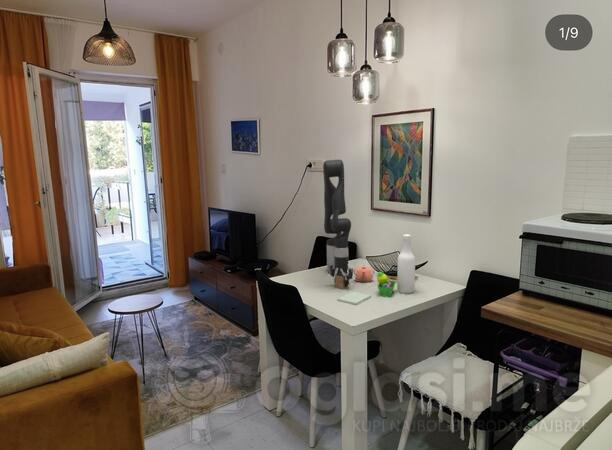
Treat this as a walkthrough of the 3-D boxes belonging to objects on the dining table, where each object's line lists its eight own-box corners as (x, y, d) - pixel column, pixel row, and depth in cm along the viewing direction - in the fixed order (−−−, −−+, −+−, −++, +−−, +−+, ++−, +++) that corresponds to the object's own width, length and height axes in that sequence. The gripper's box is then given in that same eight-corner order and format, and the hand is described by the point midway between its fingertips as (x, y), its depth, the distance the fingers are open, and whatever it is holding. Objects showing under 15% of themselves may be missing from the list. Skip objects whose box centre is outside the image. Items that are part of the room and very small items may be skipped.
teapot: (374, 277, 241) (374, 263, 240) (374, 284, 227) (374, 270, 225) (353, 277, 243) (353, 263, 242) (352, 284, 228) (352, 269, 227)
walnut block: (340, 285, 227) (340, 273, 226) (348, 287, 223) (347, 274, 222) (335, 287, 223) (335, 275, 222) (342, 289, 220) (342, 276, 219)
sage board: (352, 293, 213) (352, 291, 213) (371, 297, 206) (371, 295, 206) (337, 300, 202) (337, 298, 202) (356, 305, 195) (356, 303, 195)
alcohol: (395, 293, 212) (396, 235, 207) (398, 288, 220) (399, 233, 215) (413, 294, 208) (414, 236, 204) (415, 289, 217) (416, 233, 212)
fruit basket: (392, 297, 205) (392, 275, 203) (374, 296, 208) (374, 274, 206) (395, 290, 215) (396, 270, 214) (378, 289, 219) (379, 268, 217)
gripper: (356, 255, 219) (356, 286, 221) (334, 252, 228) (334, 281, 230) (348, 258, 213) (348, 289, 216) (326, 254, 222) (326, 284, 225)
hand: (341, 285), depth 223 cm, fingers open, 6 cm apart
